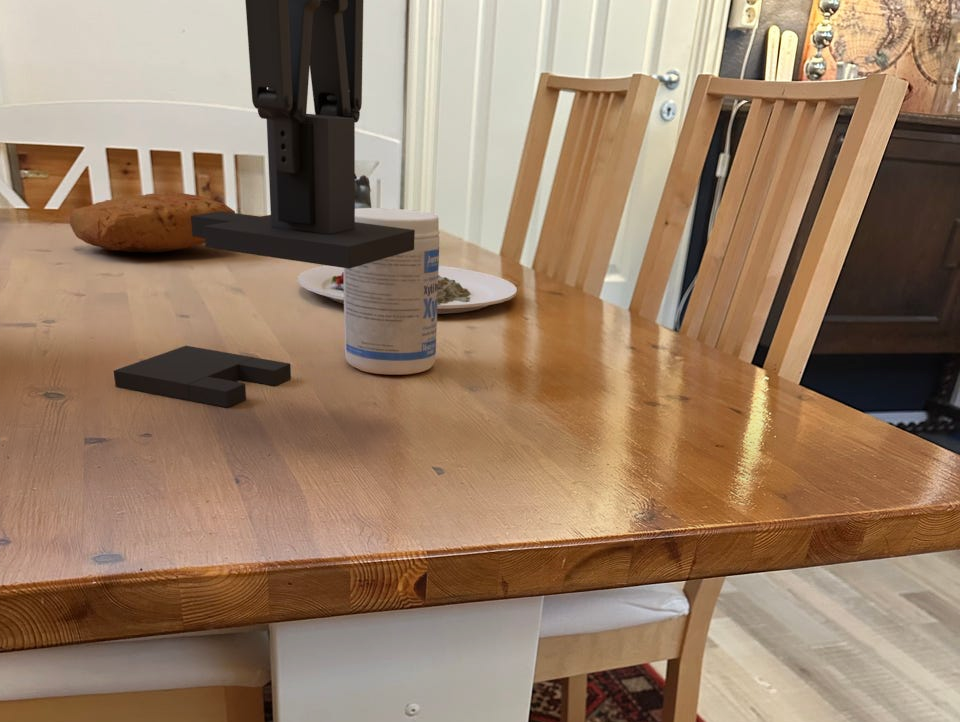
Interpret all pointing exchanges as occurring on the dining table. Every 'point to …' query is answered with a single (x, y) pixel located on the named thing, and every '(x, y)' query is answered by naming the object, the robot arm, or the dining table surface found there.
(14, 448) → the dining table surface
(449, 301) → the plated food
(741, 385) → the dining table surface
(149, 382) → the base pad
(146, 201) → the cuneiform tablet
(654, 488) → the dining table surface
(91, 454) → the dining table surface
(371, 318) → the supplement tub
